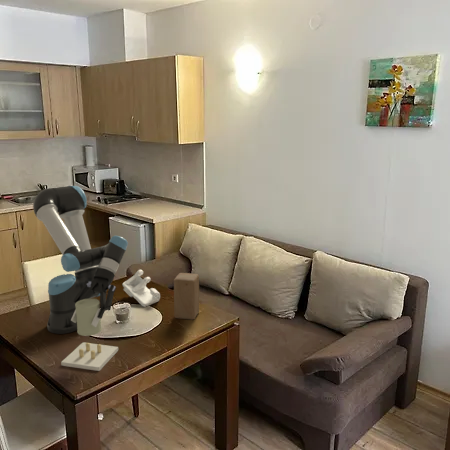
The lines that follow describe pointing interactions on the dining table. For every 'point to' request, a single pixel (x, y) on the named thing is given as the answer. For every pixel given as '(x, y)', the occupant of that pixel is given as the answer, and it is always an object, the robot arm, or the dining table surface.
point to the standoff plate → (90, 356)
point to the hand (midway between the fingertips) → (83, 323)
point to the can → (87, 317)
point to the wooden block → (186, 296)
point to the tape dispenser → (141, 289)
